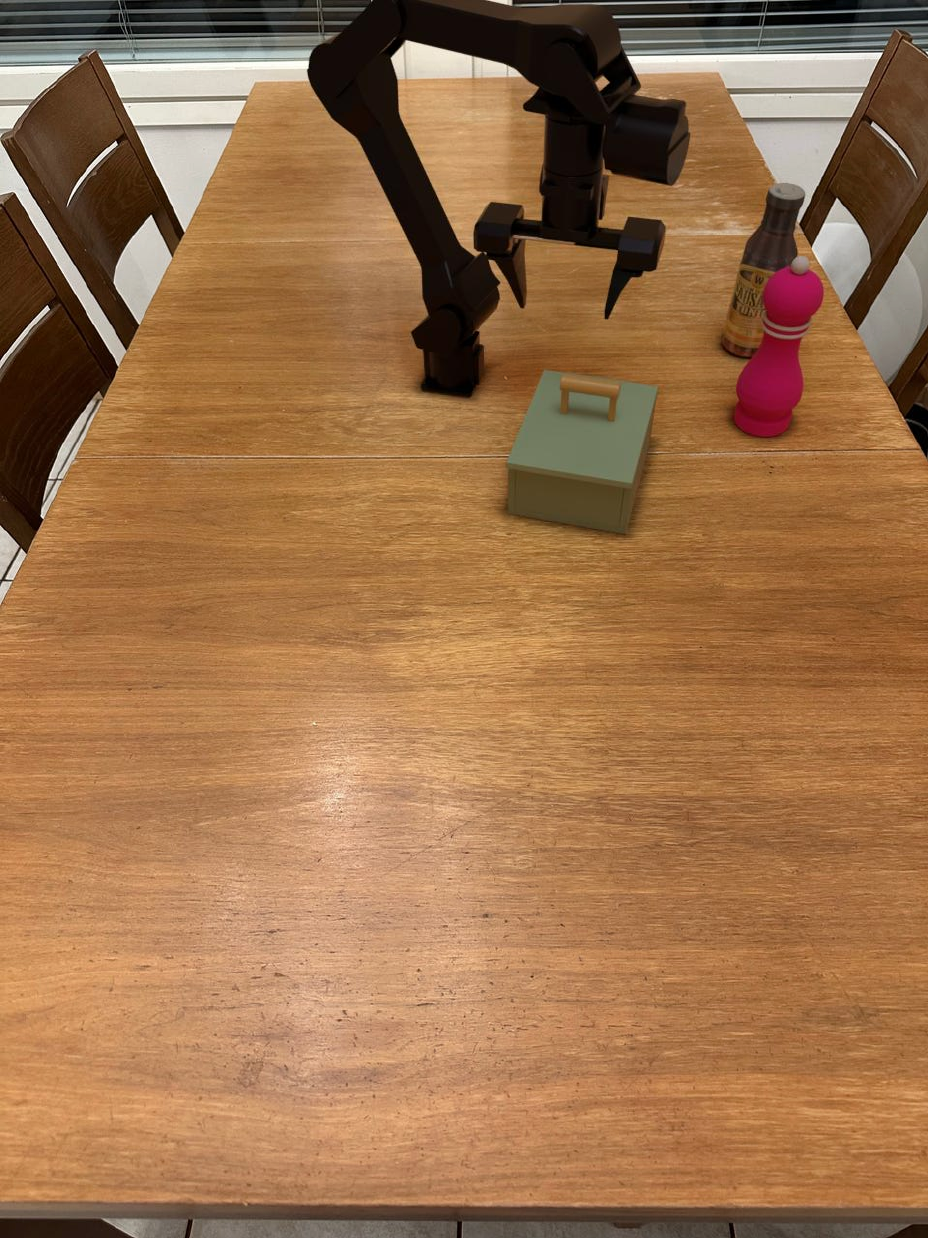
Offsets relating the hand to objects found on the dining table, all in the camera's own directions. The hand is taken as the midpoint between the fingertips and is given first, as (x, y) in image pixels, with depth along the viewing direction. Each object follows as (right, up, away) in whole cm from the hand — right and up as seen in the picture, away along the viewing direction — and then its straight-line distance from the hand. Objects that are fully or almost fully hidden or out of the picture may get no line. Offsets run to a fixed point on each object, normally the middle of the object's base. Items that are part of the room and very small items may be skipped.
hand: (564, 311), depth 102 cm
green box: (+2, -17, +2) cm, 18 cm away
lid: (+2, -13, -4) cm, 14 cm away
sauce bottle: (+25, +1, +18) cm, 31 cm away
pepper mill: (+24, -10, +8) cm, 27 cm away
